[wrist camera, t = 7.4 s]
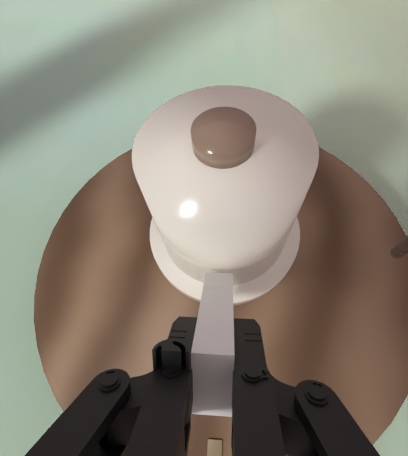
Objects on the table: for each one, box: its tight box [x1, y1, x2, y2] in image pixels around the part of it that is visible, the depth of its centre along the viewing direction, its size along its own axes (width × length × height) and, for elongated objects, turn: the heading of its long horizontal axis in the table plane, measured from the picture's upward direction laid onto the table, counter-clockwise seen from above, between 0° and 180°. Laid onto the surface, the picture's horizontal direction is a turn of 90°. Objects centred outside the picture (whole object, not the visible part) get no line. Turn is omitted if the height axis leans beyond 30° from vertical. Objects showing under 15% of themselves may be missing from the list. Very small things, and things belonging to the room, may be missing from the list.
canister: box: [132, 86, 319, 306], centre depth 18 cm, size 11×11×11 cm
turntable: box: [34, 148, 408, 456], centre depth 22 cm, size 28×28×2 cm
